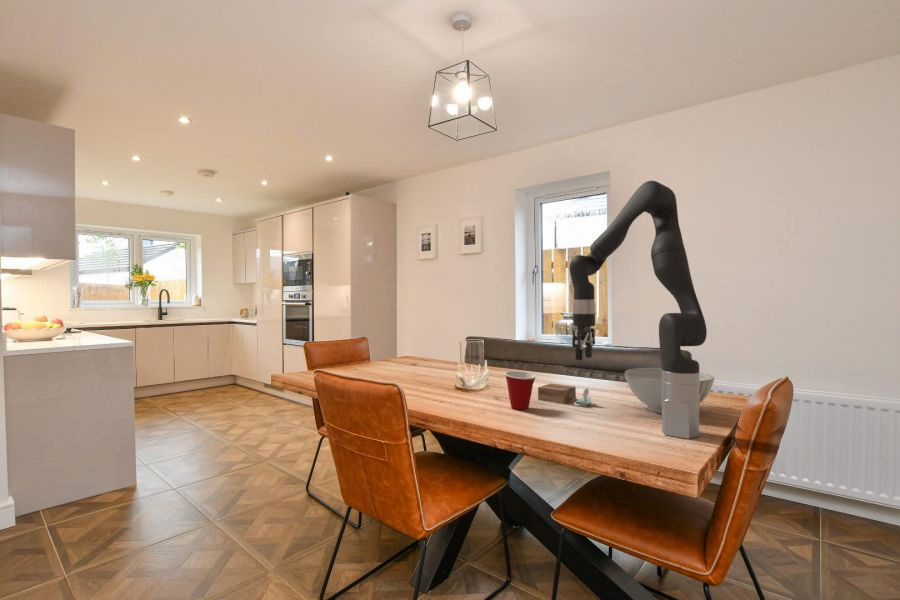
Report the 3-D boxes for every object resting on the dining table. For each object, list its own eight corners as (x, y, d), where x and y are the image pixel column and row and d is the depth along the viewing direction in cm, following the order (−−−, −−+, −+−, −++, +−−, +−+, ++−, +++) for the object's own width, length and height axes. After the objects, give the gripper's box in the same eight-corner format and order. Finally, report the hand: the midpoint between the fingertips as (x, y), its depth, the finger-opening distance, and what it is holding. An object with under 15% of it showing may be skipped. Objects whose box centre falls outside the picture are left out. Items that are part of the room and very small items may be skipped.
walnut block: (563, 404, 159) (563, 390, 159) (538, 400, 166) (538, 387, 166) (575, 400, 167) (575, 386, 167) (551, 396, 174) (551, 383, 174)
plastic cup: (528, 414, 146) (528, 377, 146) (498, 409, 152) (498, 374, 152) (541, 407, 155) (541, 372, 155) (513, 403, 161) (513, 369, 161)
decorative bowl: (707, 426, 132) (707, 384, 132) (614, 412, 148) (614, 375, 148) (719, 408, 153) (719, 372, 153) (636, 397, 169) (636, 365, 169)
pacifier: (570, 406, 157) (587, 408, 154) (569, 388, 157) (587, 389, 154) (577, 402, 163) (594, 404, 160) (576, 385, 163) (593, 386, 160)
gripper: (586, 313, 150) (586, 362, 150) (601, 312, 161) (602, 357, 161) (565, 312, 155) (565, 360, 155) (581, 311, 166) (581, 355, 166)
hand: (584, 358), depth 158 cm, fingers open, 8 cm apart
